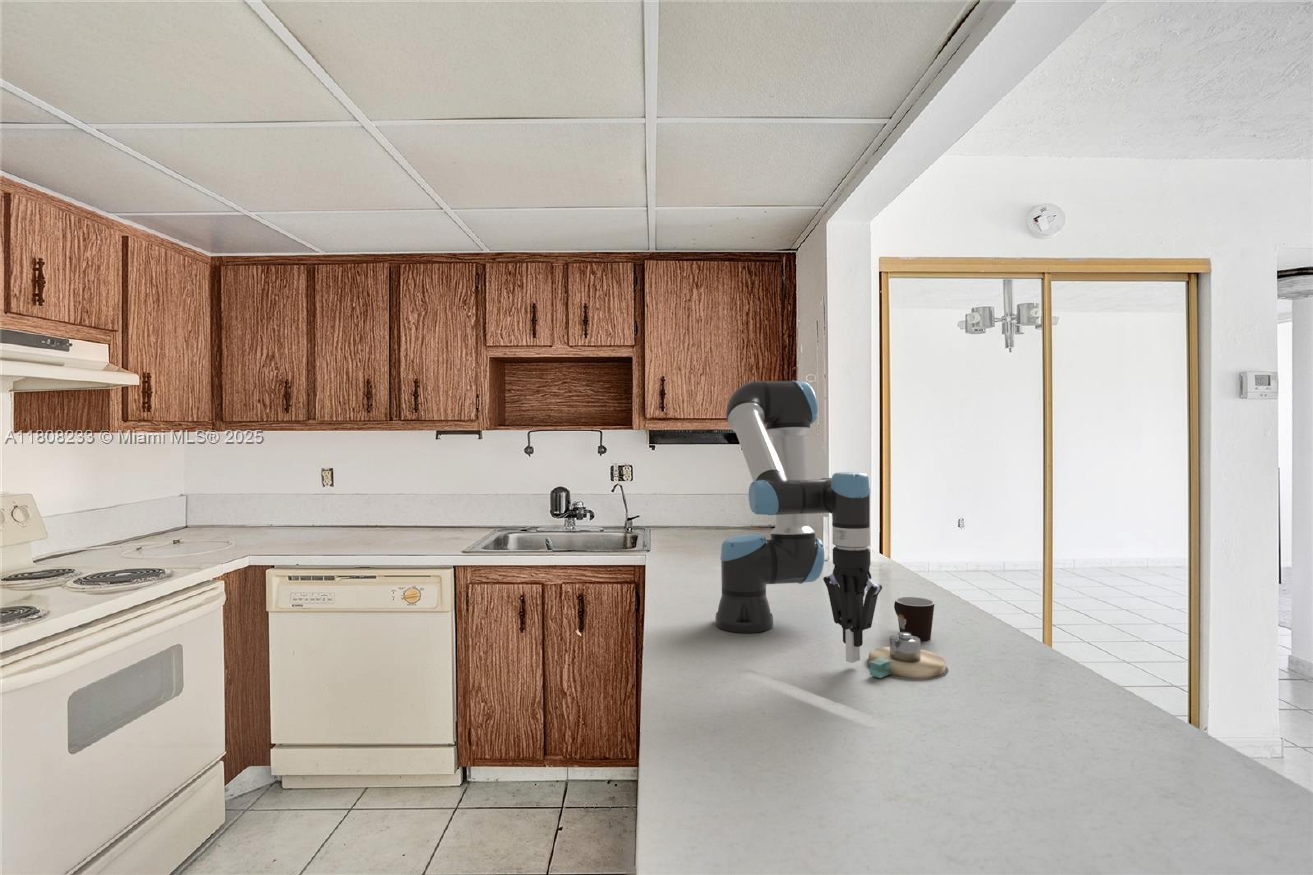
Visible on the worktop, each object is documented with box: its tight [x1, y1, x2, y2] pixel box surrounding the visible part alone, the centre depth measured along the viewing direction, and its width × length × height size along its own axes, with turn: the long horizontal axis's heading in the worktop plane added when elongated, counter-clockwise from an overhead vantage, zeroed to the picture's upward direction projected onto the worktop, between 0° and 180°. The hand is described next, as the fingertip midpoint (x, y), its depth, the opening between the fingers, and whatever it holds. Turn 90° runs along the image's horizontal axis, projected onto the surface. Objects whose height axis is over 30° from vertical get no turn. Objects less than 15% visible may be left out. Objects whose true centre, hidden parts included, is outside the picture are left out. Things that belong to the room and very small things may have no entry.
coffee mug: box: [893, 596, 935, 643], centre depth 156 cm, size 12×9×10 cm
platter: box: [868, 646, 947, 679], centre depth 135 cm, size 19×15×3 cm
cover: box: [889, 631, 921, 663], centre depth 136 cm, size 6×6×5 cm
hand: (852, 660), depth 135 cm, fingers closed
